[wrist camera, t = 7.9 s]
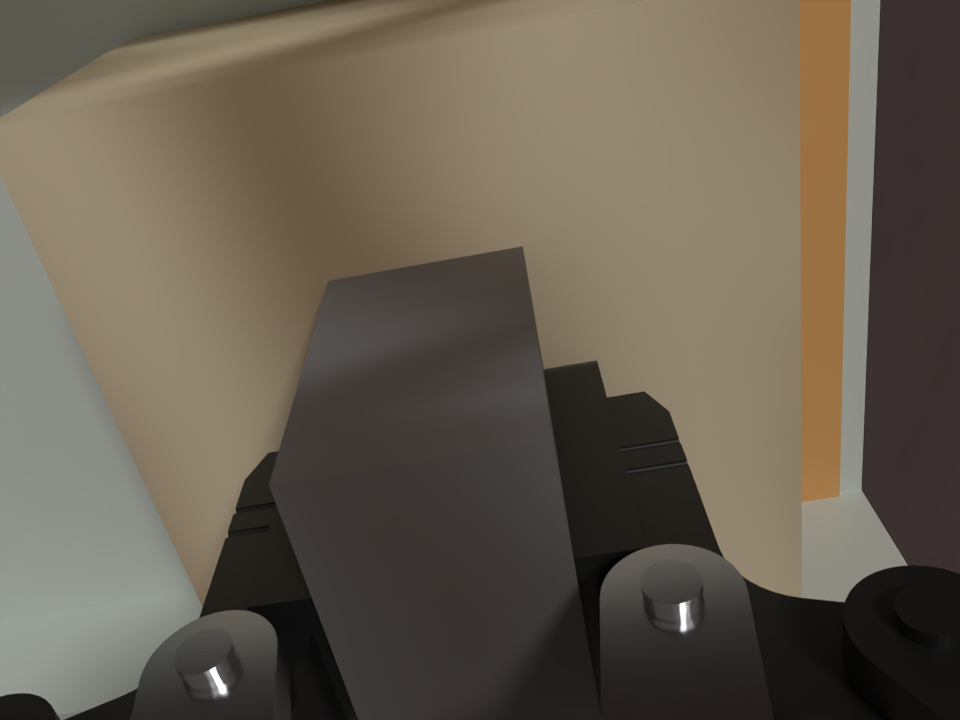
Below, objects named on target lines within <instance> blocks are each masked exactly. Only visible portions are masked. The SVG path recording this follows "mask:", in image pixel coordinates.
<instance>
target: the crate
mask: <svg viewBox="0 0 960 720" xmlns="http://www.w3.org/2000/svg"><path fill="white" fill-rule="evenodd" d="M0 175H1V177H2V180H3V182H4V184H5V186H6V188H7V190H8V192H9V195H10V197H11V199H12V201H13V203H14V205H15V207H16V209H17V212H18V214H19V216H20V218H21V220H22V222H23V224H24V227H25V229H26V231H27V233H28V235H29V237H30V239H31V242H32V244H33V246H34V248H35V250H36V252H37V254H38V256H39V259H40V261H41V263H42V265H43V267H44V269H45V271H46V274H47V276H48V278H49V280H50V282H51V284H52V286H53V289H54V291H55V293H56V295H57V297H58V299H59V301H60V303H61V306H62V308H63V310H64V312H65V314H66V316H67V318H68V321H69V323H70V325H71V327H72V329H73V331H74V333H75V336H76V338H77V340H78V342H79V344H80V346H81V348H82V350H83V353H84V355H85V357H86V359H87V361H88V363H89V365H90V368H91V370H92V372H93V374H94V376H95V378H96V380H97V383H98V385H99V387H100V389H101V391H102V393H103V395H104V397H105V400H106V402H107V404H108V406H109V408H110V410H111V412H112V415H113V417H114V419H115V421H116V423H117V425H118V427H119V430H120V432H121V434H122V436H123V438H124V440H125V442H126V444H127V447H128V449H129V451H130V453H131V455H132V457H133V459H134V462H135V464H136V466H137V468H138V470H139V472H140V474H141V477H142V479H143V481H144V483H145V485H146V487H147V489H148V491H149V494H150V496H151V498H152V500H153V502H154V504H155V506H156V509H157V511H158V513H159V515H160V517H161V519H162V521H163V524H164V526H165V528H166V530H167V532H168V534H169V536H170V538H171V541H172V543H173V545H174V547H175V549H176V551H177V553H178V556H179V558H180V560H181V562H182V564H183V566H184V568H185V571H186V573H187V575H188V577H189V579H190V581H191V583H192V585H193V588H194V590H195V592H196V594H197V596H198V598H199V600H200V603H201V605H202V607H203V605H204V602H205V599H206V596H207V593H208V590H209V587H210V584H211V581H212V578H213V575H214V572H215V568H216V565H217V562H218V559H219V556H220V553H221V550H222V547H223V544H224V541H225V538H228V529H229V526H230V523H231V520H232V517H233V514H236V509H235V508H236V505H237V502H238V499H239V496H240V493H241V490H242V487H243V484H244V481H245V479H246V478H247V477H248V476H249V474H250V473H251V472H252V471H253V470H254V469H255V468H256V466H257V465H258V464H259V463H260V462H261V461H262V459H263V458H264V457H265V456H266V455H267V454H268V453H270V452H276V451H279V452H278V455H277V458H276V462H275V465H274V469H273V472H272V476H271V479H270V482H269V487H270V490H271V492H272V495H273V497H274V500H275V503H276V505H277V508H278V511H279V513H280V516H281V518H282V521H283V524H284V526H285V529H286V532H287V534H288V537H289V539H290V542H291V545H292V547H293V550H294V553H295V555H296V558H297V560H298V563H299V566H300V568H301V571H302V574H303V576H304V579H305V581H306V584H307V587H308V589H309V592H310V595H311V597H312V600H313V602H314V605H315V608H316V610H317V613H318V616H319V618H320V621H321V623H322V626H323V629H324V631H325V634H326V637H327V639H328V642H329V644H330V647H331V650H332V652H333V655H334V658H335V660H336V663H337V665H338V668H339V671H340V673H341V676H342V679H343V681H344V684H345V687H346V689H347V692H348V694H349V697H350V700H351V702H352V705H353V708H354V710H355V713H356V715H357V718H358V720H601V713H600V707H599V701H598V695H597V690H596V684H595V678H594V672H593V667H592V661H591V655H590V649H589V644H588V638H587V632H586V626H585V621H584V615H583V609H582V603H581V598H580V592H579V586H578V580H577V575H576V569H575V563H574V557H573V551H572V545H571V539H570V532H569V526H568V520H567V513H566V507H565V501H564V494H563V488H562V482H561V476H560V469H559V463H558V457H557V450H556V444H555V438H554V432H553V425H552V419H551V413H550V406H549V400H548V394H547V387H546V381H545V375H544V369H548V368H554V367H560V366H566V365H572V364H578V363H584V362H590V361H596V360H597V362H598V365H599V369H600V373H601V377H602V381H603V384H604V388H605V392H606V396H607V397H613V396H619V395H625V394H631V393H637V392H643V391H645V392H646V393H647V394H648V395H650V396H651V397H652V398H653V399H655V400H656V401H657V402H658V403H660V404H661V405H662V406H663V407H664V408H666V409H667V410H668V411H669V412H670V415H671V417H672V420H673V423H674V426H675V428H676V431H677V434H678V437H679V441H680V443H681V445H682V447H683V450H684V453H685V456H686V458H687V463H688V465H689V467H690V469H691V472H692V475H693V478H694V480H695V483H696V486H697V489H698V491H699V494H700V497H701V500H702V502H703V505H704V508H705V510H706V513H707V516H708V519H709V521H710V524H711V527H712V530H713V532H714V535H715V538H716V541H717V543H718V546H719V548H720V551H721V553H722V555H723V557H724V558H725V559H726V560H727V561H728V562H730V563H731V564H732V565H733V566H734V567H735V568H736V569H737V570H738V571H739V572H740V574H741V575H742V576H743V577H744V578H746V579H747V580H749V581H751V582H752V583H754V584H756V585H758V586H760V587H762V588H765V589H768V590H770V591H773V592H776V593H780V594H784V595H787V596H794V597H800V598H802V478H801V210H800V0H328V1H323V2H318V3H313V4H308V5H303V6H298V7H293V8H288V9H283V10H279V11H274V12H269V13H264V14H259V15H254V16H249V17H244V18H239V19H234V20H229V21H224V22H219V23H214V24H209V25H204V26H199V27H194V28H189V29H184V30H179V31H174V32H169V33H164V34H159V35H154V36H149V37H144V38H139V39H134V40H129V41H124V42H123V43H121V44H119V45H118V46H116V47H115V48H113V49H111V50H110V51H108V52H106V53H105V54H103V55H102V56H100V57H98V58H97V59H95V60H93V61H92V62H90V63H89V64H87V65H85V66H84V67H82V68H81V69H79V70H77V71H76V72H74V73H72V74H71V75H69V76H68V77H66V78H64V79H63V80H61V81H59V82H58V83H56V84H55V85H53V86H51V87H50V88H48V89H46V90H45V91H43V92H42V93H40V94H38V95H37V96H35V97H34V98H32V99H30V100H29V101H27V102H25V103H24V104H22V105H21V106H19V107H17V108H16V109H14V110H12V111H11V112H9V113H8V114H6V115H4V116H3V117H1V118H0Z"/></svg>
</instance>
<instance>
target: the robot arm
mask: <svg viewBox="0 0 960 720" xmlns="http://www.w3.org/2000/svg"><path fill="white" fill-rule="evenodd" d="M544 375H545V381H546V387H547V394H548V400H549V406H550V413H551V419H552V425H553V432H554V438H555V444H556V450H557V457H558V463H559V469H560V476H561V482H562V488H563V494H564V501H565V507H566V513H567V520H568V526H569V532H570V539H571V545H572V551H573V557H574V563H575V569H576V575H577V580H578V586H579V592H580V598H581V603H582V609H583V615H584V621H585V626H586V632H587V638H588V644H589V649H590V655H591V661H592V667H593V672H594V678H595V684H596V690H597V695H598V701H599V707H600V713H601V720H960V574H959V573H955V572H952V571H949V570H945V569H941V568H935V567H930V566H917V565H911V566H897V567H891V568H886V569H883V570H880V571H877V572H874V573H872V574H870V575H868V576H866V577H865V578H863V579H862V580H861V581H859V582H858V583H857V584H856V585H855V586H854V587H853V588H852V589H851V591H850V592H849V594H848V596H847V598H846V600H845V602H837V601H827V600H818V599H809V598H800V597H794V596H787V595H784V594H780V593H776V592H773V591H770V590H768V589H765V588H762V587H760V586H758V585H756V584H754V583H752V582H751V581H749V580H747V579H746V578H744V577H743V576H742V575H741V574H740V572H739V571H738V570H737V569H736V568H735V567H734V566H733V565H732V564H731V563H730V562H728V561H727V560H726V559H725V558H724V557H723V555H722V553H721V551H720V548H719V546H718V543H717V541H716V538H715V535H714V532H713V530H712V527H711V524H710V521H709V519H708V516H707V513H706V510H705V508H704V505H703V502H702V500H701V497H700V494H699V491H698V489H697V486H696V483H695V480H694V478H693V475H692V472H691V469H690V467H689V465H688V463H687V458H686V456H685V453H684V450H683V447H682V445H681V443H680V441H679V437H678V434H677V431H676V428H675V426H674V423H673V420H672V417H671V415H670V412H669V411H668V410H667V409H666V408H664V407H663V406H662V405H661V404H660V403H658V402H657V401H656V400H655V399H653V398H652V397H651V396H650V395H648V394H647V393H646V392H645V391H643V392H637V393H631V394H625V395H619V396H613V397H607V396H606V392H605V388H604V384H603V381H602V377H601V373H600V369H599V365H598V362H597V360H596V361H590V362H584V363H578V364H572V365H566V366H560V367H554V368H548V369H544ZM278 452H279V451H276V452H270V453H268V454H267V455H266V456H265V457H264V458H263V459H262V461H261V462H260V463H259V464H258V465H257V466H256V468H255V469H254V470H253V471H252V472H251V473H250V474H249V476H248V477H247V478H246V479H245V481H244V484H243V487H242V490H241V493H240V496H239V499H238V502H237V505H236V508H235V509H236V514H233V517H232V520H231V523H230V526H229V529H228V538H225V541H224V544H223V547H222V550H221V553H220V556H219V559H218V562H217V565H216V568H215V572H214V575H213V578H212V581H211V584H210V587H209V590H208V593H207V596H206V599H205V602H204V605H203V608H202V611H201V614H200V617H199V619H197V620H194V621H192V622H191V623H189V624H187V625H185V626H183V627H182V628H180V629H179V630H177V631H176V632H175V633H173V634H172V635H171V636H170V637H168V638H167V639H166V640H165V641H164V642H163V643H162V644H161V645H160V646H159V647H158V648H157V649H156V650H155V651H154V653H153V654H152V656H151V657H150V658H149V660H148V661H147V663H146V665H145V667H144V669H143V671H142V674H141V677H140V680H139V685H138V688H137V689H135V690H133V691H131V692H129V693H127V694H125V695H123V696H120V697H118V698H116V699H113V700H111V701H108V702H106V703H103V704H101V705H98V706H96V707H94V708H91V709H89V710H86V711H84V712H81V713H79V714H77V715H74V716H72V717H69V718H67V719H64V720H358V718H357V715H356V713H355V710H354V708H353V705H352V702H351V700H350V697H349V694H348V692H347V689H346V687H345V684H344V681H343V679H342V676H341V673H340V671H339V668H338V665H337V663H336V660H335V658H334V655H333V652H332V650H331V647H330V644H329V642H328V639H327V637H326V634H325V631H324V629H323V626H322V623H321V621H320V618H319V616H318V613H317V610H316V608H315V605H314V602H313V600H312V597H311V595H310V592H309V589H308V587H307V584H306V581H305V579H304V576H303V574H302V571H301V568H300V566H299V563H298V560H297V558H296V555H295V553H294V550H293V547H292V545H291V542H290V539H289V537H288V534H287V532H286V529H285V526H284V524H283V521H282V518H281V516H280V513H279V511H278V508H277V505H276V503H275V500H274V497H273V495H272V492H271V490H270V487H269V482H270V479H271V476H272V472H273V469H274V465H275V462H276V458H277V455H278ZM0 720H60V718H59V717H58V715H57V713H56V712H55V710H54V709H53V707H52V705H51V704H50V703H49V702H48V701H47V700H46V699H44V698H42V697H40V696H38V695H34V694H30V693H16V694H8V695H4V696H0Z"/></svg>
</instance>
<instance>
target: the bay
mask: <svg viewBox="0 0 960 720" xmlns="http://www.w3.org/2000/svg"><path fill="white" fill-rule="evenodd" d="M323 1H328V0H0V118H1V117H3V116H4V115H6V114H8V113H9V112H11V111H12V110H14V109H16V108H17V107H19V106H21V105H22V104H24V103H25V102H27V101H29V100H30V99H32V98H34V97H35V96H37V95H38V94H40V93H42V92H43V91H45V90H46V89H48V88H50V87H51V86H53V85H55V84H56V83H58V82H59V81H61V80H63V79H64V78H66V77H68V76H69V75H71V74H72V73H74V72H76V71H77V70H79V69H81V68H82V67H84V66H85V65H87V64H89V63H90V62H92V61H93V60H95V59H97V58H98V57H100V56H102V55H103V54H105V53H106V52H108V51H110V50H111V49H113V48H115V47H116V46H118V45H119V44H121V43H123V42H124V41H129V40H134V39H139V38H144V37H149V36H154V35H159V34H164V33H169V32H174V31H179V30H184V29H189V28H194V27H199V26H204V25H209V24H214V23H219V22H224V21H229V20H234V19H239V18H244V17H249V16H254V15H259V14H264V13H269V12H274V11H279V10H283V9H288V8H293V7H298V6H303V5H308V4H313V3H318V2H323ZM879 18H880V0H800V210H801V478H802V598H809V599H818V600H827V601H837V602H845V600H846V598H847V596H848V594H849V592H850V591H851V589H852V588H853V587H854V586H855V585H856V584H857V583H858V582H859V581H861V580H862V579H863V578H865V577H866V576H868V575H870V574H872V573H874V572H877V571H880V570H883V569H886V568H891V567H897V566H908V565H907V564H906V562H905V560H904V559H903V557H902V555H901V554H900V552H899V550H898V549H897V547H896V546H895V544H894V542H893V541H892V539H891V537H890V536H889V534H888V533H887V531H886V529H885V528H884V526H883V524H882V523H881V521H880V520H879V518H878V516H877V515H876V513H875V511H874V510H873V508H872V507H871V505H870V503H869V502H868V500H867V498H866V497H865V495H864V494H863V492H862V490H861V483H862V458H863V432H864V406H865V380H866V354H867V328H868V302H869V277H870V251H871V225H872V199H873V173H874V147H875V122H876V96H877V70H878V44H879ZM202 608H203V607H202V605H201V603H200V600H199V598H198V596H197V594H196V592H195V590H194V588H193V585H192V583H191V581H190V579H189V577H188V575H187V573H186V571H185V568H184V566H183V564H182V562H181V560H180V558H179V556H178V553H177V551H176V549H175V547H174V545H173V543H172V541H171V538H170V536H169V534H168V532H167V530H166V528H165V526H164V524H163V521H162V519H161V517H160V515H159V513H158V511H157V509H156V506H155V504H154V502H153V500H152V498H151V496H150V494H149V491H148V489H147V487H146V485H145V483H144V481H143V479H142V477H141V474H140V472H139V470H138V468H137V466H136V464H135V462H134V459H133V457H132V455H131V453H130V451H129V449H128V447H127V444H126V442H125V440H124V438H123V436H122V434H121V432H120V430H119V427H118V425H117V423H116V421H115V419H114V417H113V415H112V412H111V410H110V408H109V406H108V404H107V402H106V400H105V397H104V395H103V393H102V391H101V389H100V387H99V385H98V383H97V380H96V378H95V376H94V374H93V372H92V370H91V368H90V365H89V363H88V361H87V359H86V357H85V355H84V353H83V350H82V348H81V346H80V344H79V342H78V340H77V338H76V336H75V333H74V331H73V329H72V327H71V325H70V323H69V321H68V318H67V316H66V314H65V312H64V310H63V308H62V306H61V303H60V301H59V299H58V297H57V295H56V293H55V291H54V289H53V286H52V284H51V282H50V280H49V278H48V276H47V274H46V271H45V269H44V267H43V265H42V263H41V261H40V259H39V256H38V254H37V252H36V250H35V248H34V246H33V244H32V242H31V239H30V237H29V235H28V233H27V231H26V229H25V227H24V224H23V222H22V220H21V218H20V216H19V214H18V212H17V209H16V207H15V205H14V203H13V201H12V199H11V197H10V195H9V192H8V190H7V188H6V186H5V184H4V182H3V180H2V177H1V175H0V696H4V695H8V694H16V693H30V694H34V695H38V696H40V697H42V698H44V699H46V700H47V701H48V702H49V703H50V704H51V705H52V707H53V709H54V710H55V712H56V713H57V715H58V717H59V718H60V720H64V719H67V718H69V717H72V716H74V715H77V714H79V713H81V712H84V711H86V710H89V709H91V708H94V707H96V706H98V705H101V704H103V703H106V702H108V701H111V700H113V699H116V698H118V697H120V696H123V695H125V694H127V693H129V692H131V691H133V690H135V689H137V688H138V685H139V680H140V677H141V674H142V671H143V669H144V667H145V665H146V663H147V661H148V660H149V658H150V657H151V656H152V654H153V653H154V651H155V650H156V649H157V648H158V647H159V646H160V645H161V644H162V643H163V642H164V641H165V640H166V639H167V638H168V637H170V636H171V635H172V634H173V633H175V632H176V631H177V630H179V629H180V628H182V627H183V626H185V625H187V624H189V623H191V622H192V621H194V620H197V619H199V617H200V614H201V611H202Z"/></svg>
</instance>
